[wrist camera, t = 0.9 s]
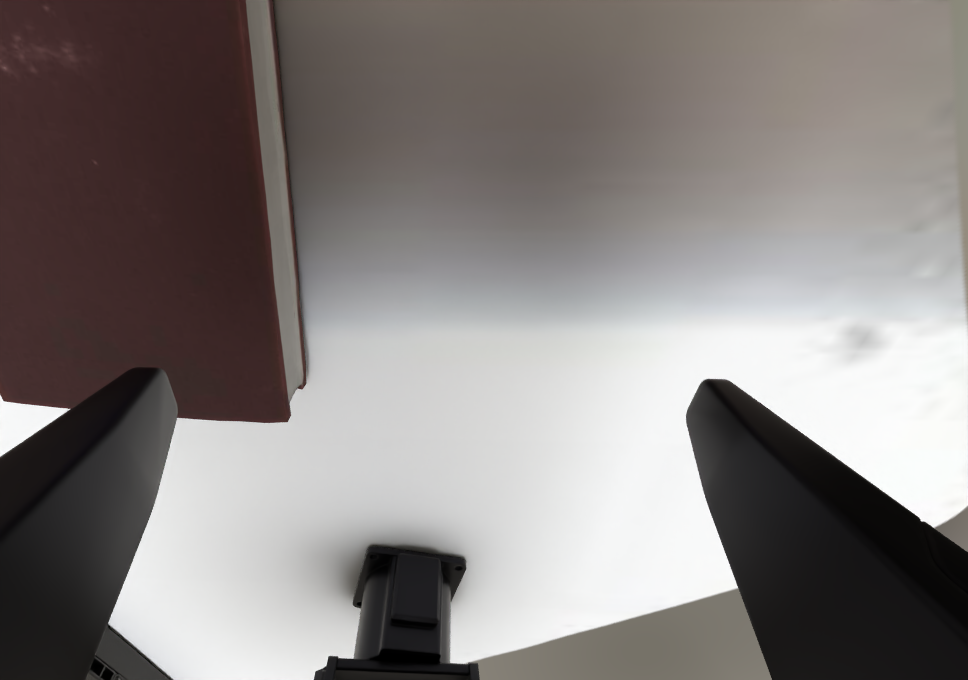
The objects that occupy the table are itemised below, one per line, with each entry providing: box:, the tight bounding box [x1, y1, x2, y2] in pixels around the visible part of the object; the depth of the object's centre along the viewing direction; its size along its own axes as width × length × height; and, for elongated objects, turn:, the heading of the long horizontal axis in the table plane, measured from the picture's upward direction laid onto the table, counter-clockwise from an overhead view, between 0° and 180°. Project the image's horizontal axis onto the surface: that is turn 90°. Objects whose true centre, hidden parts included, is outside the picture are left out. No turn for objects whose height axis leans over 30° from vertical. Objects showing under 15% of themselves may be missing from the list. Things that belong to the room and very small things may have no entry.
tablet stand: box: [86, 625, 169, 680], centre depth 39 cm, size 18×3×3 cm, turn 12°
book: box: [0, 0, 306, 423], centre depth 19 cm, size 12×19×3 cm, turn 173°
